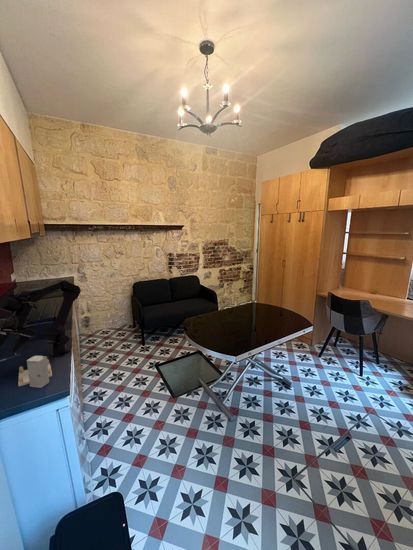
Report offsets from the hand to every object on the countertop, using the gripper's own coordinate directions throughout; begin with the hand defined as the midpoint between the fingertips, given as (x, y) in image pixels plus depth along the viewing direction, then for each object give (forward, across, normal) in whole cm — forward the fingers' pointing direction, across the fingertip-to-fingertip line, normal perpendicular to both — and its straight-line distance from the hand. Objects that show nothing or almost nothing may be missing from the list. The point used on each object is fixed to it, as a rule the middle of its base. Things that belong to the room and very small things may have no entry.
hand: (4, 351), depth 99 cm
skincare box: (+11, +14, +10) cm, 21 cm away
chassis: (+8, +5, +15) cm, 17 cm away
